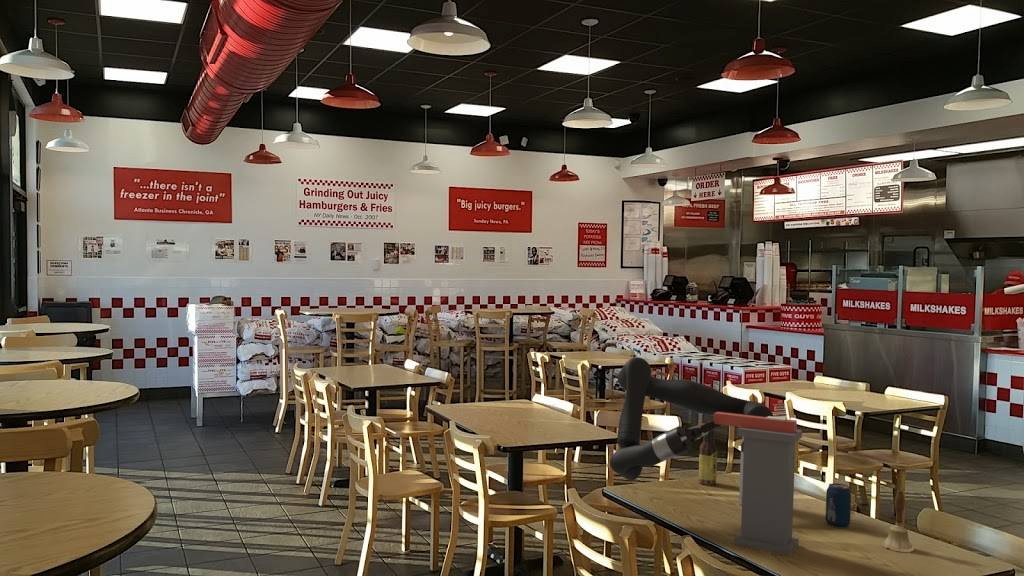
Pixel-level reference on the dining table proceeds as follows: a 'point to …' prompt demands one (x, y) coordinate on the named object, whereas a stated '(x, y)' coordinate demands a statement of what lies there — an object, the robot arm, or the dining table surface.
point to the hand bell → (898, 527)
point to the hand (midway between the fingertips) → (719, 421)
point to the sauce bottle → (708, 460)
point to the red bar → (756, 422)
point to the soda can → (838, 505)
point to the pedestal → (768, 490)
